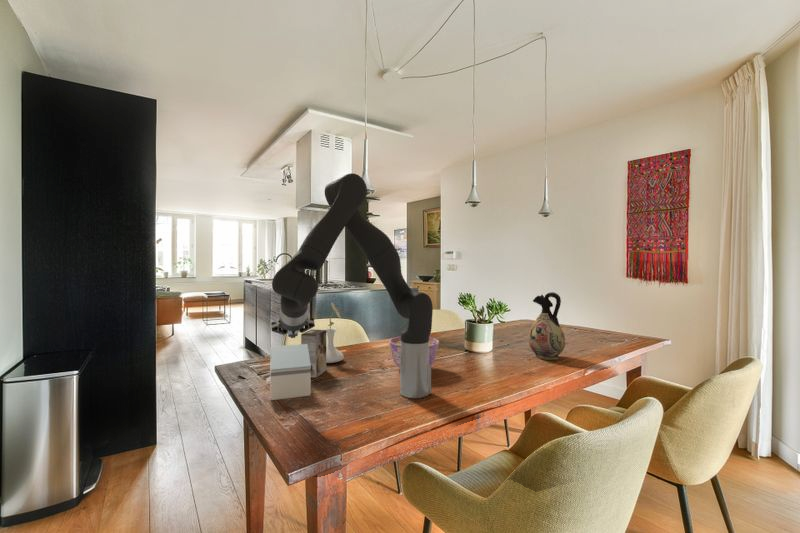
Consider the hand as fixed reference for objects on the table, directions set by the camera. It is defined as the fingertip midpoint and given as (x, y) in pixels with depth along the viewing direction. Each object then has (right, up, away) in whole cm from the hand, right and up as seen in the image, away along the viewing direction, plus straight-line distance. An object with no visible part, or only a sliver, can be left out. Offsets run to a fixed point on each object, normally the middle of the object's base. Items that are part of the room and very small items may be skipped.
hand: (292, 335), depth 114 cm
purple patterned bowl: (+40, -20, +29) cm, 53 cm away
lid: (-2, -8, +3) cm, 9 cm away
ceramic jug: (+101, -20, +48) cm, 114 cm away
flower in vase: (+4, -19, +40) cm, 45 cm away
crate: (-2, -19, +4) cm, 20 cm away
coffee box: (+1, -19, +23) cm, 30 cm away
